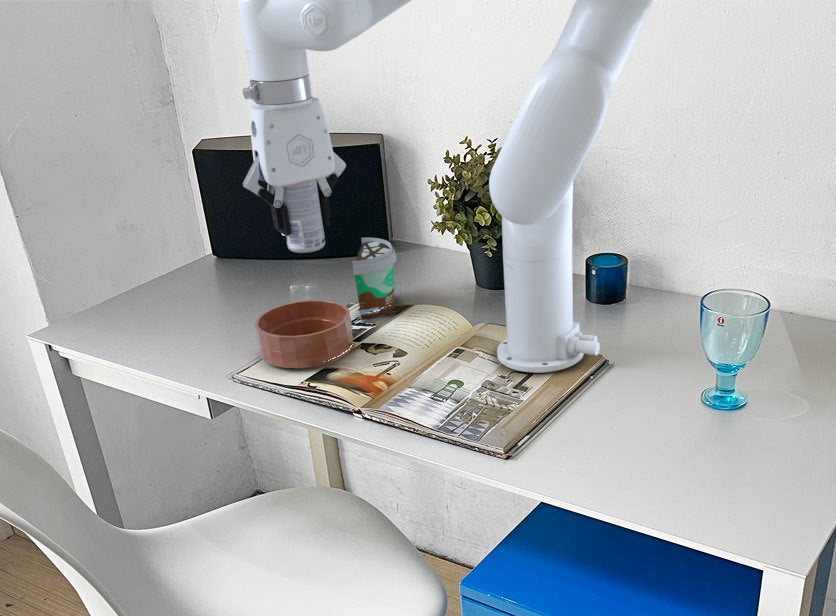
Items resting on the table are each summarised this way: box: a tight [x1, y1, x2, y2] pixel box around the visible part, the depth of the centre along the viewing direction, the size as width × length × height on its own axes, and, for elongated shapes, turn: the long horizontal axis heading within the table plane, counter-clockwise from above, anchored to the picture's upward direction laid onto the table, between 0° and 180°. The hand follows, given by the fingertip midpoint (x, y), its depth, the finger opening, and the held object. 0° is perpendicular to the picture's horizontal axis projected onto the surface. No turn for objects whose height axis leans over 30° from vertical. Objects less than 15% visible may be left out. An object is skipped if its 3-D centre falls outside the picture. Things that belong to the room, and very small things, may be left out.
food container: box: [352, 237, 398, 320], centre depth 160 cm, size 12×6×10 cm, turn 179°
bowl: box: [254, 299, 355, 369], centre depth 148 cm, size 14×14×6 cm
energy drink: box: [283, 180, 326, 254], centre depth 136 cm, size 5×5×12 cm
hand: (303, 227), depth 138 cm, fingers closed on energy drink, 5 cm apart
